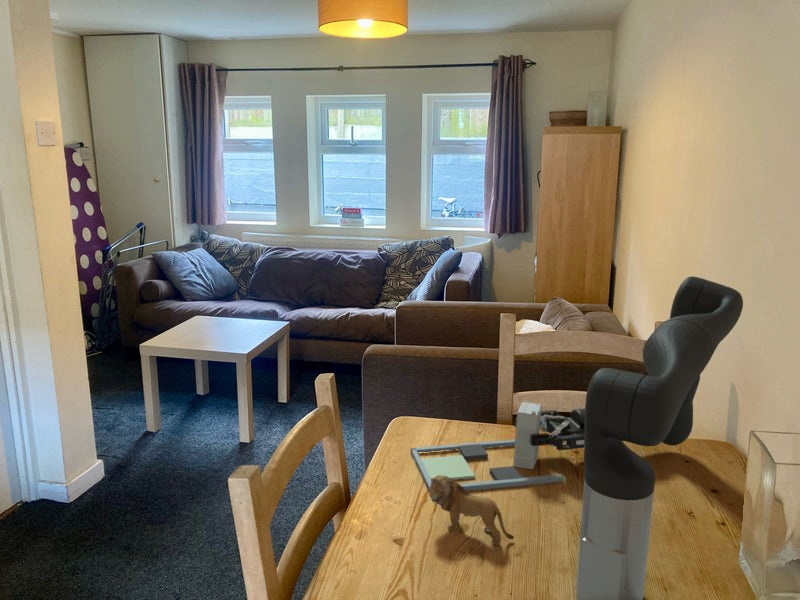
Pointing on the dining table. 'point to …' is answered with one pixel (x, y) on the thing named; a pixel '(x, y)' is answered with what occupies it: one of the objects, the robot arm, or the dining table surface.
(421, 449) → the lane rails
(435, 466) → the pad
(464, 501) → the lion figurine
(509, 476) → the grey square block
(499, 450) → the dining table surface
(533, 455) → the skincare box
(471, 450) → the grey slab
